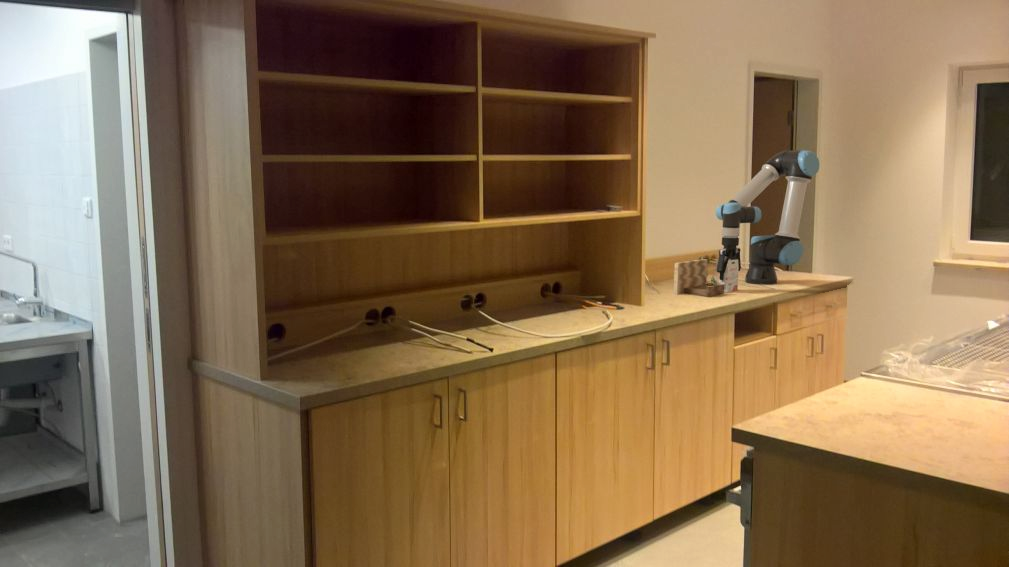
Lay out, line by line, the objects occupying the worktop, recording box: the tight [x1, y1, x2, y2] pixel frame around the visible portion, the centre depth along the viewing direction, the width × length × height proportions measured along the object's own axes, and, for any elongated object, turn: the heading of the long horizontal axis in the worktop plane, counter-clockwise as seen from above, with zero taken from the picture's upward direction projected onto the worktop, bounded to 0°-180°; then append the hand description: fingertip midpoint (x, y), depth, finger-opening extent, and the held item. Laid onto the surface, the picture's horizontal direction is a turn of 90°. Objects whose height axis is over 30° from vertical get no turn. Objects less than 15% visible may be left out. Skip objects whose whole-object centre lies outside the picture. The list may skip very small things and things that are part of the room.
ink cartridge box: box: [718, 259, 739, 293], centre depth 387 cm, size 9×5×15 cm, turn 131°
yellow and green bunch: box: [698, 256, 719, 286], centre depth 407 cm, size 10×18×15 cm, turn 47°
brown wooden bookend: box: [673, 258, 725, 298], centre depth 380 cm, size 22×15×14 cm
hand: (728, 285), depth 388 cm, fingers closed on ink cartridge box, 9 cm apart
